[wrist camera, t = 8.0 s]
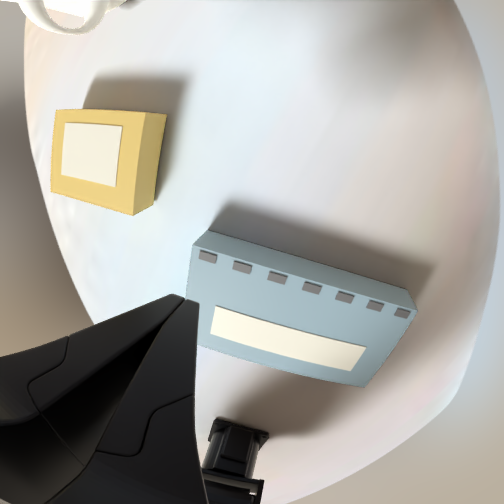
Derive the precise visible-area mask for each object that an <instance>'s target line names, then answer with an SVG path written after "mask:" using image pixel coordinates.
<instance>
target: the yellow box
mask: <svg viewBox="0 0 504 504" xmlns="http://www.w3.org/2000/svg"><path fill="white" fill-rule="evenodd" d="M166 117H167V114H158V113H148V112H137V111H123V110H103V109H65V110H56V114H55V121H54V130H53V141H52V155H51V192H53V193H57V194H60V195H64V196H67V197H70V198H74V199H77V200H80V201H84V202H87V203H91V204H94V205H97V206H101V207H104V208H108V209H111V210H114V211H118V212H121V213H124V214H128V215H131V216H133V215H135V214H137V213H139V212H141V211H143V210H145V209H146V208H148V207H150V206H152V205H153V202H154V194H155V185H156V178H157V170H158V163H159V157H160V151H161V145H162V139H163V133H164V128H165V122H166Z"/></svg>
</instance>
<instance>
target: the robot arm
mask: <svg viewBox="0 0 504 504" xmlns="http://www.w3.org/2000/svg"><path fill="white" fill-rule="evenodd" d="M199 310H200V304H199V303H198V302H196V301H193V300H190V299H186V300H185V298H184V297H181V296H178V295H175V294H169V295H167V296H165V297H162V298H160V299H157V300H155V301H152V302H150V303H147V304H145V305H142V306H140V307H138V308H135V309H133V310H130V311H128V312H125V313H123V314H120V315H118V316H115V317H113V318H110V319H108V320H105V321H103V322H100V323H98V324H95V325H93V326H90V327H88V328H85V329H83V330H80V331H78V332H75V333H73V334H70V335H69V336H65V337H62V338H60V339H57V340H55V341H52V342H49V343H47V344H44V345H41V346H38V347H35V348H31V349H28V350H25V351H21V352H18V353H14V354H10V355H6V356H3V357H0V504H260V501H261V496H262V491H263V485H264V480H261V479H260V480H257V479H252V476H253V472H254V467H255V463H256V459H257V454H258V451H259V450H260V448H261V447H262V446H263V445H264V443H265V442H266V441H267V439H268V438H269V434H268V433H266V432H262V431H257V430H253V429H249V428H246V427H242V426H238V425H235V424H231V423H228V422H224V421H221V420H217V419H215V420H214V421H213V424H212V428H211V431H210V435H209V438H208V441H209V442H210V444H209V447H208V450H207V453H206V456H205V459H204V461H203V464H202V467H201V466H200V460H199V455H198V449H197V441H196V434H195V377H196V356H197V339H198V323H199ZM250 492H252V493H255V495H251V494H249V493H250Z"/></svg>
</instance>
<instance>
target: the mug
mask: <svg viewBox="0 0 504 504" xmlns="http://www.w3.org/2000/svg"><path fill="white" fill-rule="evenodd" d="M2 1H10V2H17V3H19V5H20V7H21V9H22V11H23V12H24V13H25V15H26V16H27V17H28V18H29V19H30V20H31V21H32V22H33V23H35V24H36V25H38V26H39V27H41V28H43V29H45V30H48V31H51V32H55V33H59V34H66V35H81V34H85V33H88V32H90V31H92V30H93V29H95V28H96V27H97V26H98V25H99V23H100V22H101V21H102V19H103V17H104V15H105V13H107V12H109V11H111V10H113V9H115V8H117V7H118V6H120V5H121V4H123V3H124V2H126V1H127V0H2ZM45 8H49V9H53V10H57V11H61V12H65V13H69V14H72V15H76V16H81V17H84V18H85V22H84V24H83V25H82V26H81V27H79V28H75V29H69V28H65V27H62V26H60V25H58V24H57V23H56V22H55V21H54V20H53V19H52V18H51V17H50V16H49V14H48V13H47V11H46V9H45Z"/></svg>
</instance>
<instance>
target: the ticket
mask: <svg viewBox="0 0 504 504" xmlns="http://www.w3.org/2000/svg"><path fill="white" fill-rule="evenodd" d="M186 299H190V300H193V301H196V302H198V303H199V304H200V310H199V323H198V339H197V345H200V346H203V347H206V348H209V349H212V350H215V351H218V352H221V353H224V354H227V355H230V356H233V357H236V358H240V359H243V360H246V361H250V362H253V363H257V364H260V365H264V366H267V367H271V368H275V369H279V370H283V371H286V372H290V373H295V374H299V375H303V376H307V377H312V378H316V379H321V380H326V381H331V382H336V383H341V384H346V385H352V386H358V387H365V386H366V385H367V384H368V382H369V381H370V380H371V379H372V377H373V376H374V375H375V373H376V372H377V371H378V370H379V368H380V367H381V366H382V364H383V363H384V361H385V360H386V359H387V357H388V356H389V355H390V353H391V352H392V350H393V349H394V347H395V346H396V345H397V343H398V342H399V340H400V339H401V337H402V336H403V334H404V333H405V331H406V329H407V328H408V326H409V325H410V323H411V322H412V320H413V318H414V317H415V315H416V313H417V312H418V310H417V308H416V306H415V304H414V302H413V300H412V298H411V296H410V294H409V292H408V291H407V290H406V289H403V288H399V287H396V286H393V285H390V284H386V283H383V282H380V281H377V280H373V279H370V278H367V277H364V276H360V275H357V274H354V273H350V272H347V271H344V270H341V269H337V268H334V267H331V266H327V265H324V264H321V263H317V262H314V261H311V260H307V259H304V258H301V257H297V256H294V255H291V254H287V253H284V252H281V251H277V250H274V249H270V248H267V247H264V246H260V245H257V244H253V243H250V242H247V241H243V240H240V239H236V238H233V237H230V236H226V235H223V234H219V233H216V232H212V231H209V230H207V231H206V232H205V233H204V234H203V235H202V236H201V237H200V238H199V239H198V240H197V241H196V242H195V243H194V244H193V245H192V252H191V259H190V266H189V274H188V281H187V289H186V298H185V300H186Z"/></svg>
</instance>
